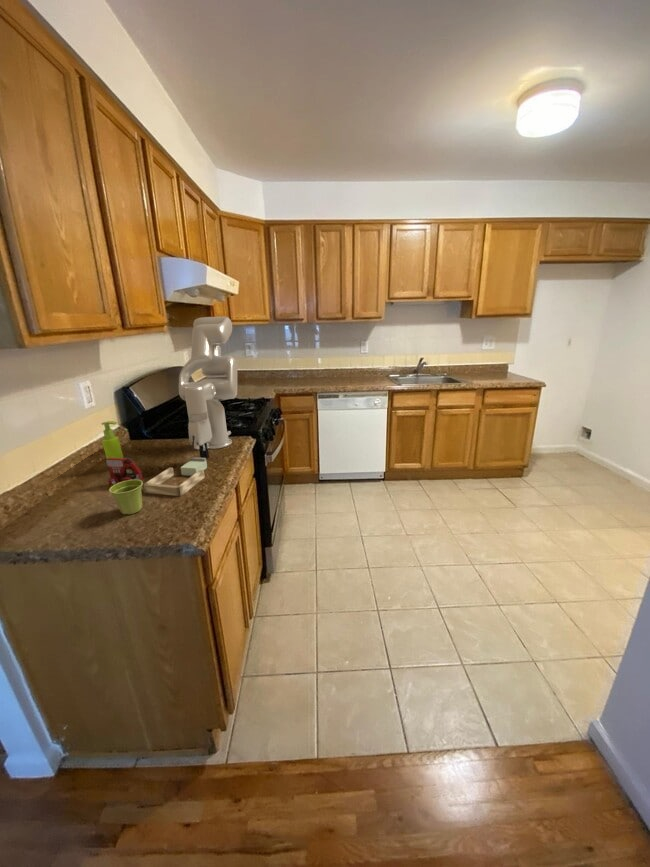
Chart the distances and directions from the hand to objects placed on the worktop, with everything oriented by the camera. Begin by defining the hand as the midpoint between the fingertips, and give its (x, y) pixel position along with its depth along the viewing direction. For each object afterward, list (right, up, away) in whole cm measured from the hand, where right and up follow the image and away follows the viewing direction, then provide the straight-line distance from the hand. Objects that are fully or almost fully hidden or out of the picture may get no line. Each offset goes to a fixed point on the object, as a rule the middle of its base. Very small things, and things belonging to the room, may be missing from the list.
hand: (205, 458), depth 148 cm
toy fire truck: (-24, -9, -16) cm, 30 cm away
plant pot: (-12, -14, -34) cm, 39 cm away
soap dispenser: (-36, -4, -1) cm, 36 cm away
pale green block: (-2, -5, -7) cm, 9 cm away
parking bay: (-5, -8, -18) cm, 20 cm away
